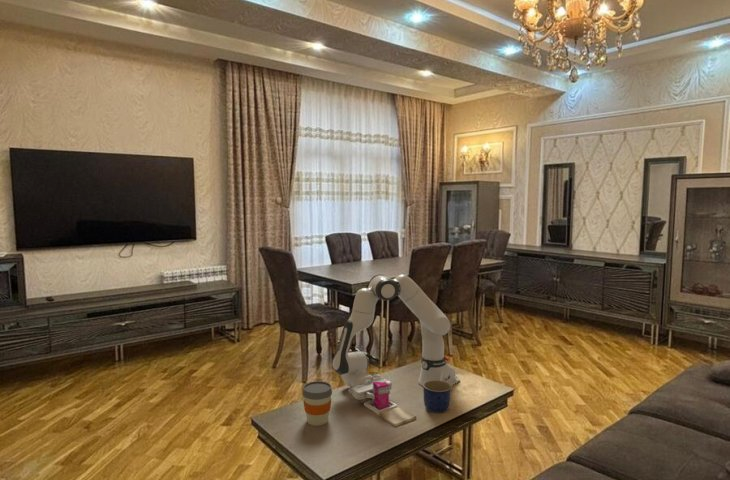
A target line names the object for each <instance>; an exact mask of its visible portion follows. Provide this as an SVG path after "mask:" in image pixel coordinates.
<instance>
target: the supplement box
mask: <svg viewBox="0 0 730 480" xmlns="http://www.w3.org/2000/svg"><path fill="white" fill-rule="evenodd" d="M373 394H376V399H372V400H373V404H372V406H373V407H375V408H376V409H378V410H381V409H384V408H387V407H390V405H389V400H390V394H389V385H388V384H387V383H386V382H385V381H384V380H381V381H376V382H373Z"/></svg>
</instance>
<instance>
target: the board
mask: <svg viewBox="0 0 730 480" xmlns="http://www.w3.org/2000/svg"><path fill="white" fill-rule="evenodd" d="M378 416H379V418H381V419H383V420H385V421H386V422H387V423H389V424H390V425H391V426H393V427H398V426H400V425H403V424H405V423H408V422H411V421H413V420H416V419H417V415H415V414H413V413H412V412H410V411H408V410H406V409H405V408H403V407H401V406H398V407H397V408H395V409H392V410H389V411H386V412H383V413H380V414H379V415H378Z"/></svg>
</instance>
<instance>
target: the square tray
mask: <svg viewBox="0 0 730 480" xmlns="http://www.w3.org/2000/svg"><path fill="white" fill-rule="evenodd" d="M363 406H364V407H366V408H367V409H368V410H371V412H374V413H375V414H376V415H378V416H379V414H380V413H383V412H386V411H389V410H392V409H395V408H397V407H399V406H398V404H396V403H395V402H393V401H392V400H390V399H389V407H387V408H384V409H381V410H378V409H376V407H375V406H374V405H373V399H370V400H368V401H367V400H366V401H364V403H363Z"/></svg>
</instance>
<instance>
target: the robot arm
mask: <svg viewBox="0 0 730 480" xmlns="http://www.w3.org/2000/svg"><path fill="white" fill-rule="evenodd" d="M396 297H398V298H399V299H400V300H401V301H402V302H403V303H404V305H405V306H406V307H407V308H408V309H409V310H410V311H411V313H412V314H413V315H415V317H416V318H417V319H418V320H419V325H420V334H421V340H422V341H421V343H422V349H421V351H422V353H421V357H420V358H421V360H420V362H421V366H420V373H419V374H420V375H419V377H418V378H419V379H418V384H419V385H420V386H421V387H423V385H424V383H425V382H427V381H430V380H440V381H444V382H447V383H448V384H450V386H451V387H453V386H454V385H456V384H458V383H459V382H458V381H461V379H460V377H458V376H456V371H455V368H454V367H452V366H451V365H450V364H449V363H447V362H449V361H450V360H451V359H450V357H449V356H445V341H444V338H443V336H445V335H446V334H448V333H449V332H450V330H451V322H450V320H449V318H448V317H447V316H446V314H445V313H444V312H443V311H442V310H441V309H440V308H439V307H438V305H436V304H435V302H433V301H432V299H430V298H429V297H428V295H427V294H426V293H425V292H424V290H422V289H421V287H420V286H419V284H417V283H416V282H415V281H414V280H413V279H412V278H411V277H409V276H408V275H407V274H404V273H401V274H399V275H397V276H396V277H395V278H391V277H389V276H386V275H384V274H376V275H373V277H371V279H370V280H369V282H368V283H367V284H366V286H365V287H362V288H359V289H358V290H357V291H356V293H355V297H354V300H353V304H352V305H353V306H352V310H351V314H350V316H349V318H348V319H347V321H346V322H344V325H343V327H342V331H341V334H340V338H339V341H338V344H337V345H338V346H337V348H336V352H335V354H334V356H333V358H332V362H331V364H332V366H331V367H332V369H333V370H334V371H335V373H337V374H339V376H341V377H340V378H341V380H342V381H343V382H344V383H345V385H347V386H348V387H350V388H349V389H348V393H350V394H351V396H352V397H354V398H355V399H356V400H363V399H371V400H373V399H376V394H373V382H376V381H381V380H384V381H385V382H386V383H387V384H388V385H389V395H390V394H391V390H392V388H393V386H392V385H393V384H392V382H391V380H389V379H387V378H385V377H382V376H381V375H380V374H367V372H368V368H369V365H370V364H369V363H370V362H369V357H368V356H367V354H366V353H365V352H364V351H362V350H361V351H352V352H350V351H349V350H350V347H351V344H352V339H354V337H355V336H356V334H359V333H360V332H361V331H364V330H366V329H368V328H369V327H370V326H371V325H372V324H373V322H374V320H375V319H374V318H375V312H376V305H377V303H378V301H379V300H382V301H384V302H385V301H391V300H393V299H394V298H396ZM457 382H458V383H457ZM455 383H456V384H455ZM453 384H454V385H453ZM452 385H453V386H452Z"/></svg>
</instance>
